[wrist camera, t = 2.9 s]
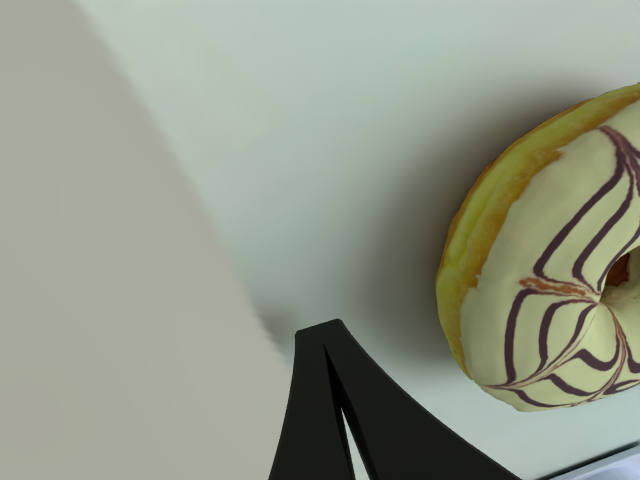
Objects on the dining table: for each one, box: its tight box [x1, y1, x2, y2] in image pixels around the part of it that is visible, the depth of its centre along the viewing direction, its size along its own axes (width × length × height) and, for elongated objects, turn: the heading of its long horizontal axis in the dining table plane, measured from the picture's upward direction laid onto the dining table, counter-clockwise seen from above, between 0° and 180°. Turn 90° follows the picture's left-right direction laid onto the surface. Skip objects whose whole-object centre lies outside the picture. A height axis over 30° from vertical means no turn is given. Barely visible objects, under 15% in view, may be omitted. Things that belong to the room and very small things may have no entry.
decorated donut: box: [435, 82, 640, 412], centre depth 10 cm, size 10×11×4 cm
